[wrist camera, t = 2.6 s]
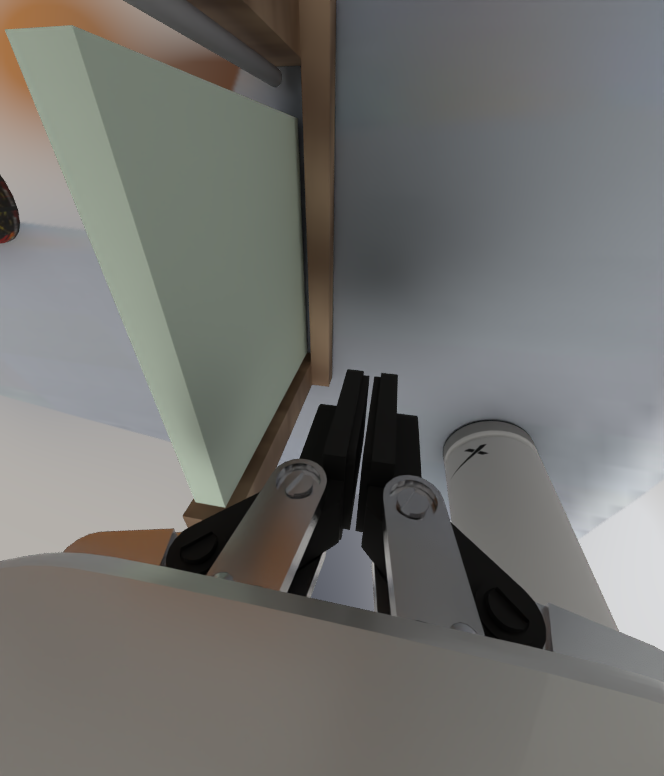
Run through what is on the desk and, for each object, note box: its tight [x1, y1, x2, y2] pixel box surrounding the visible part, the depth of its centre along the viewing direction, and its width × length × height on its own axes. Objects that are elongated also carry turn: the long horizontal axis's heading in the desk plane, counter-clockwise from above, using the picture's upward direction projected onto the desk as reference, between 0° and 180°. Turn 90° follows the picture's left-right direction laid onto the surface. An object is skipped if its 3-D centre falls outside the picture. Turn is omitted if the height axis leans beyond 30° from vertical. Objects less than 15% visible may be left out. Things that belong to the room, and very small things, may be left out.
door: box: [5, 0, 307, 508], centre depth 13 cm, size 14×2×12 cm, turn 179°
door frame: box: [183, 0, 336, 528], centre depth 13 cm, size 18×3×13 cm, turn 179°
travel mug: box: [443, 421, 619, 631], centre depth 16 cm, size 6×7×20 cm
